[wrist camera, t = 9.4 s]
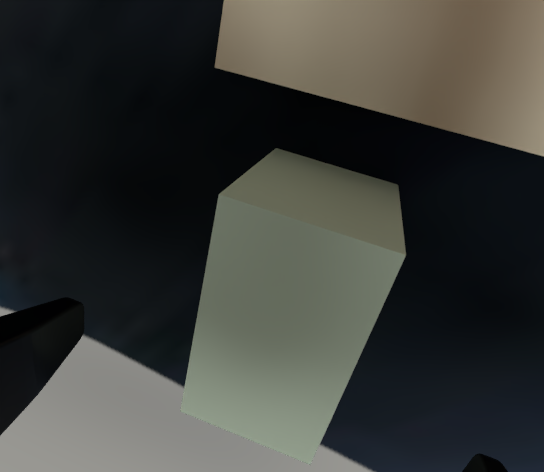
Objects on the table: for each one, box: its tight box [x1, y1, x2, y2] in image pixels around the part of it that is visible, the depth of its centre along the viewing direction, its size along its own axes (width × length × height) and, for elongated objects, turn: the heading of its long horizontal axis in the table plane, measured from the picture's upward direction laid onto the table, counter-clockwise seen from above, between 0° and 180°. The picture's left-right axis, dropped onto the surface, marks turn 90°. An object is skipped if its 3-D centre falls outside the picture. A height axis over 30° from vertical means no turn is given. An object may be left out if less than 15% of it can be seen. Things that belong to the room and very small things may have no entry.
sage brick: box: [180, 148, 406, 465], centre depth 12 cm, size 7×4×5 cm, turn 167°
